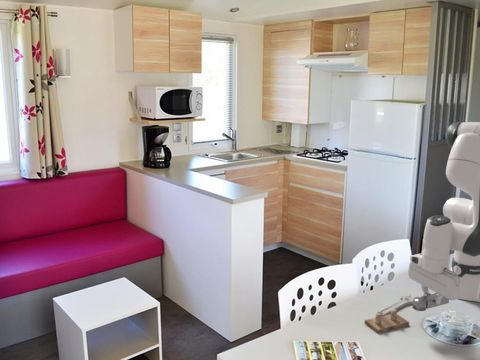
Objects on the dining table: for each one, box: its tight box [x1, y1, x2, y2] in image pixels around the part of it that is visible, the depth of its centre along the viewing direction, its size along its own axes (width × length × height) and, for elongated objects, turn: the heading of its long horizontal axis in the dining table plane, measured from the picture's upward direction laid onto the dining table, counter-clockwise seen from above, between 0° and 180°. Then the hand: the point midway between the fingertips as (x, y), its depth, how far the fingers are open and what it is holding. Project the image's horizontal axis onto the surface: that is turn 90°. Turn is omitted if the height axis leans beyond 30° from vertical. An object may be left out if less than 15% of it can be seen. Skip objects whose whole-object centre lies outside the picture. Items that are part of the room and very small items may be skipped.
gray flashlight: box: [411, 292, 450, 312], centre depth 162 cm, size 14×4×3 cm, turn 114°
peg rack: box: [364, 309, 410, 334], centre depth 166 cm, size 14×7×5 cm, turn 114°
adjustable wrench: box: [376, 293, 420, 316], centre depth 180 cm, size 25×6×2 cm, turn 124°
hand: (431, 300), depth 162 cm, fingers closed on gray flashlight, 3 cm apart
